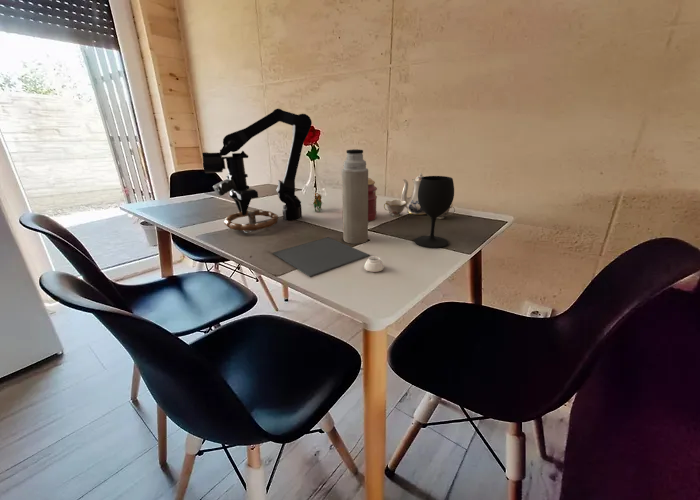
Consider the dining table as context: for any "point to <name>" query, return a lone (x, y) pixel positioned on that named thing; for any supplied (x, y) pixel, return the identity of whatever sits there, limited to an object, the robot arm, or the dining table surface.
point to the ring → (251, 226)
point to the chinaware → (410, 201)
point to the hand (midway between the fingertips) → (242, 214)
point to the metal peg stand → (252, 220)
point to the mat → (320, 256)
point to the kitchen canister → (371, 200)
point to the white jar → (373, 264)
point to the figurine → (317, 202)
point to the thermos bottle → (355, 198)
